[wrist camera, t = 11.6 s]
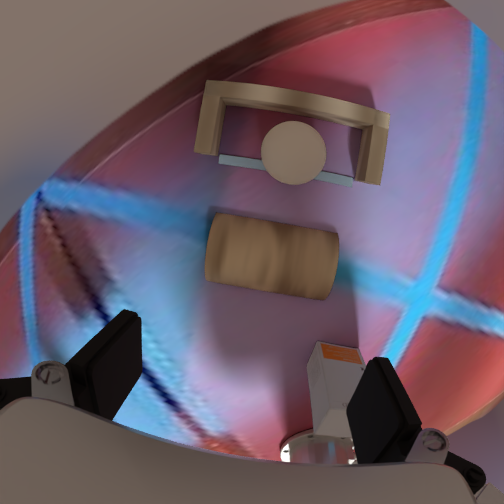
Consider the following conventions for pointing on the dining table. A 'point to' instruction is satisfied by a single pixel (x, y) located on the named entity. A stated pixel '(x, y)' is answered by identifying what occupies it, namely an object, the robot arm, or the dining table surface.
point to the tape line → (259, 165)
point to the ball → (293, 152)
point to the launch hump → (271, 256)
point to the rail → (298, 104)
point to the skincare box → (333, 386)
